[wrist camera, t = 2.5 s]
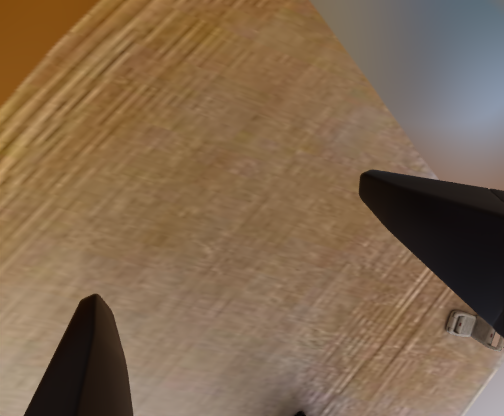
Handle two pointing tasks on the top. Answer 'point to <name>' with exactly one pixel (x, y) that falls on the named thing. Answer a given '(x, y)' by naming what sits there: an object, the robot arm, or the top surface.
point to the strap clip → (473, 328)
